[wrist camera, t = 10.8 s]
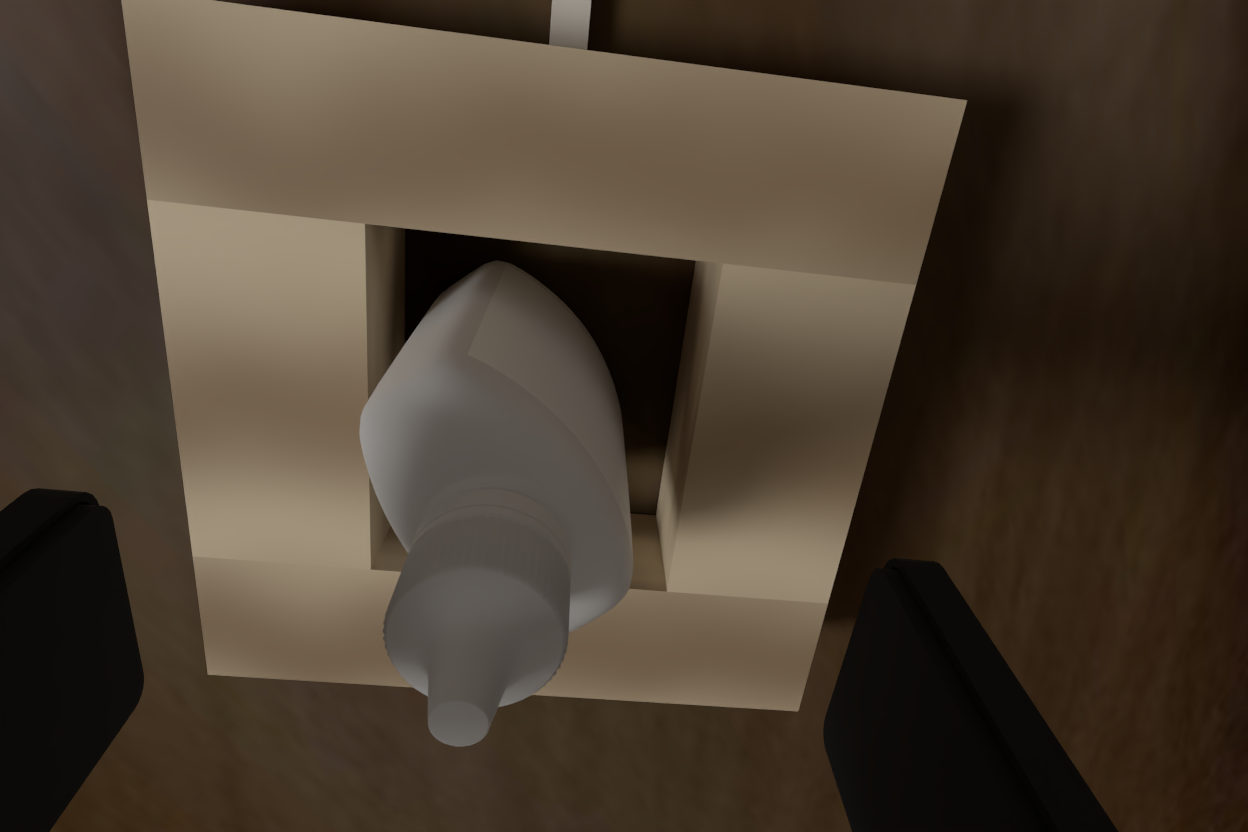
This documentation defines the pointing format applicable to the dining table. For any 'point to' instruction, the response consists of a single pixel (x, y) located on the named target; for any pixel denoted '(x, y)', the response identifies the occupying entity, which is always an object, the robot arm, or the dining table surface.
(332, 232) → the rectangular frame
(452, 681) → the eye dropper bottle
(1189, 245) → the dining table surface
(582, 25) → the white rectangular bar
